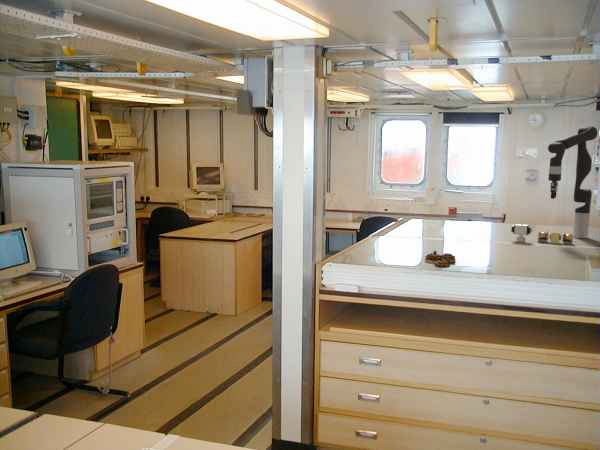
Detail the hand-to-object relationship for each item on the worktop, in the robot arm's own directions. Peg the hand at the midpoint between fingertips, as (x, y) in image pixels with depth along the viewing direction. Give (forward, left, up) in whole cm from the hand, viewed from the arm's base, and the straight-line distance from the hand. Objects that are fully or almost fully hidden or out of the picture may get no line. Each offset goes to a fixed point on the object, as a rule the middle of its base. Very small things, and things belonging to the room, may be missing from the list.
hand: (553, 198), depth 400 cm
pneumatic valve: (+16, -16, -28) cm, 36 cm away
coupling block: (+10, +4, -28) cm, 30 cm away
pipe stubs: (+10, +4, -28) cm, 30 cm away
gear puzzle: (+115, -40, -29) cm, 125 cm away
